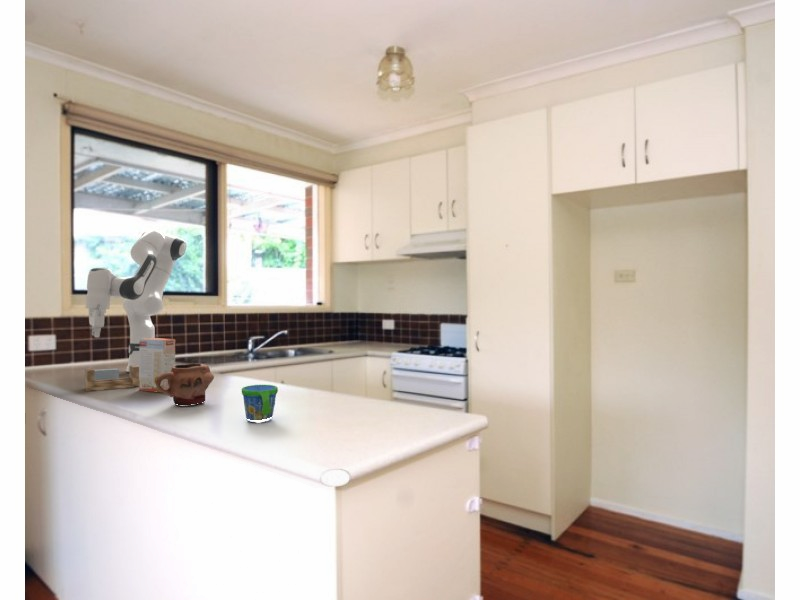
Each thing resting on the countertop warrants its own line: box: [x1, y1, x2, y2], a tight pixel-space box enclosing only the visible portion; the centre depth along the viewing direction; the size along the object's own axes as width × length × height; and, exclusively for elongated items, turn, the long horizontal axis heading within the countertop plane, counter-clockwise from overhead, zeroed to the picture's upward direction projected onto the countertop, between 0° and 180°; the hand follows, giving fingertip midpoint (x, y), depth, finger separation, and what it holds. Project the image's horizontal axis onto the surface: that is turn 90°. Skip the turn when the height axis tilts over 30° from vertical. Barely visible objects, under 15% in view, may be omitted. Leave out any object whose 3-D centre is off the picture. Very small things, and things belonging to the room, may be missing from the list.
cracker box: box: [138, 337, 176, 393], centre depth 193 cm, size 14×6×21 cm, turn 65°
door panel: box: [94, 367, 120, 381], centre depth 209 cm, size 10×2×6 cm, turn 128°
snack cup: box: [241, 384, 279, 420], centre depth 147 cm, size 16×10×10 cm
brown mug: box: [156, 363, 215, 405], centre depth 168 cm, size 20×12×14 cm, turn 146°
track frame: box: [84, 365, 139, 392], centre depth 199 cm, size 18×8×8 cm, turn 128°
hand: (95, 336), depth 209 cm, fingers open, 8 cm apart
